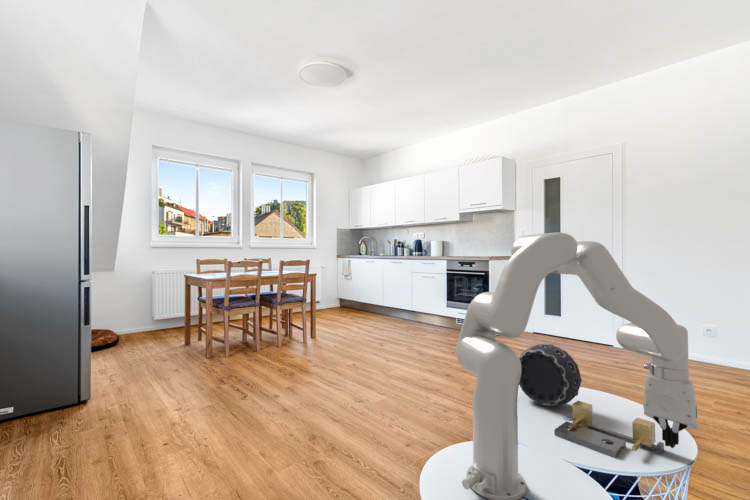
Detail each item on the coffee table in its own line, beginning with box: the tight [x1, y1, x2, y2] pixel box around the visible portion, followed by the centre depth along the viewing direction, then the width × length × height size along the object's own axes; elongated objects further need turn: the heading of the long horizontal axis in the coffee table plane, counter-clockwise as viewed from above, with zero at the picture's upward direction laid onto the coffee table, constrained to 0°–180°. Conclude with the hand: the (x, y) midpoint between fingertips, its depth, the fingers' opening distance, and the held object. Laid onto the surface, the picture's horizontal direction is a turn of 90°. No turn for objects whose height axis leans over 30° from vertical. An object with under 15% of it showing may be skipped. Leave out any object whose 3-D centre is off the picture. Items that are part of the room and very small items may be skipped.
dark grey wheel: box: [518, 343, 583, 408], centre depth 122 cm, size 11×20×20 cm, turn 37°
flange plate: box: [553, 421, 627, 459], centre depth 98 cm, size 8×15×2 cm, turn 40°
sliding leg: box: [631, 417, 656, 453], centre depth 93 cm, size 11×4×5 cm, turn 130°
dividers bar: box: [569, 400, 665, 455], centre depth 98 cm, size 11×21×6 cm, turn 40°
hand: (670, 445), depth 91 cm, fingers closed
